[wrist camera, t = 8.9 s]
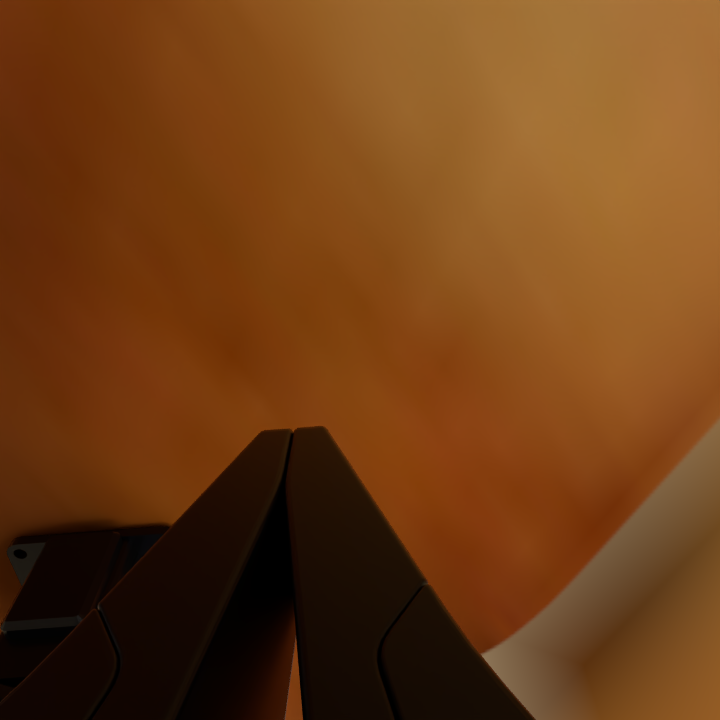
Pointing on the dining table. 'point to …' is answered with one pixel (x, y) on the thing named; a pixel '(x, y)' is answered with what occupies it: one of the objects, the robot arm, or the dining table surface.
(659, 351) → the dining table surface
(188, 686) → the robot arm
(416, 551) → the dining table surface
